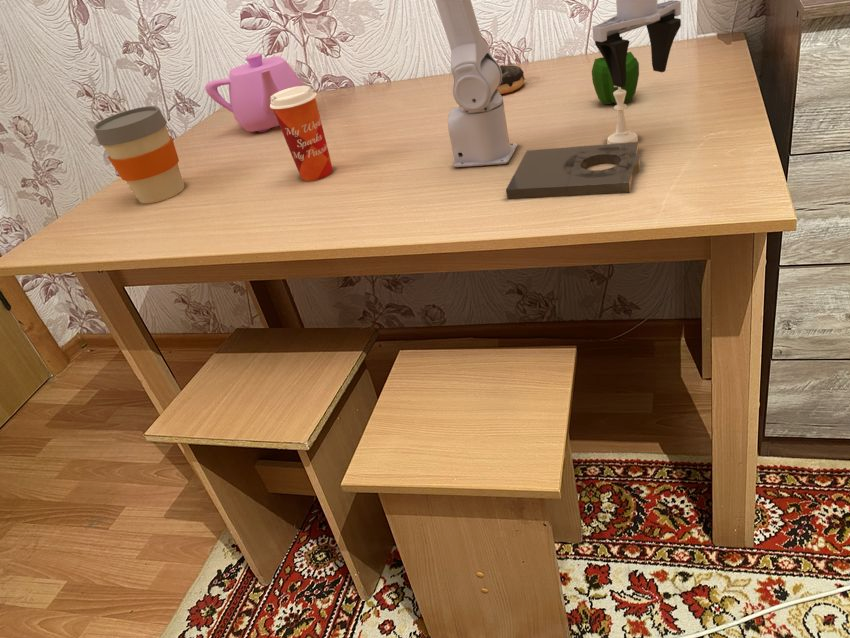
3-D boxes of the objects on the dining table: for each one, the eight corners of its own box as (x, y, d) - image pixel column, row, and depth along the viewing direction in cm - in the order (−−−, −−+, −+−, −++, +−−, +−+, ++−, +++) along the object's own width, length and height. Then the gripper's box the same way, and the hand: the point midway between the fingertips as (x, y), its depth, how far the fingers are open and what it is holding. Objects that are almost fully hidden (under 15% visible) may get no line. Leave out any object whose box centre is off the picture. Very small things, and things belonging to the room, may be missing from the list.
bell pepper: (647, 93, 131) (645, 37, 125) (630, 108, 125) (627, 51, 120) (605, 93, 135) (601, 39, 129) (587, 108, 130) (582, 52, 124)
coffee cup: (302, 187, 124) (273, 104, 116) (290, 175, 131) (262, 95, 122) (345, 172, 127) (320, 88, 118) (331, 161, 133) (307, 81, 124)
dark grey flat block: (507, 198, 104) (505, 189, 103) (527, 158, 115) (526, 150, 115) (634, 192, 98) (634, 182, 97) (643, 150, 109) (643, 141, 108)
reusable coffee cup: (155, 210, 129) (117, 131, 120) (117, 204, 136) (78, 129, 127) (206, 181, 137) (174, 105, 128) (167, 177, 144) (134, 105, 135)
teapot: (220, 129, 166) (194, 64, 158) (304, 103, 171) (284, 39, 162) (231, 154, 148) (203, 82, 140) (325, 125, 153) (303, 53, 144)
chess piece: (637, 145, 111) (635, 81, 106) (606, 148, 113) (602, 86, 107) (637, 134, 115) (635, 72, 109) (607, 137, 116) (603, 76, 111)
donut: (526, 91, 145) (524, 72, 143) (471, 102, 146) (467, 83, 144) (524, 77, 154) (521, 58, 152) (471, 87, 155) (468, 69, 153)
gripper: (611, -5, 93) (617, 97, 101) (695, -32, 97) (695, 68, 105) (581, -8, 98) (588, 89, 106) (661, -34, 102) (663, 61, 110)
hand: (639, 78), depth 106 cm, fingers open, 7 cm apart
